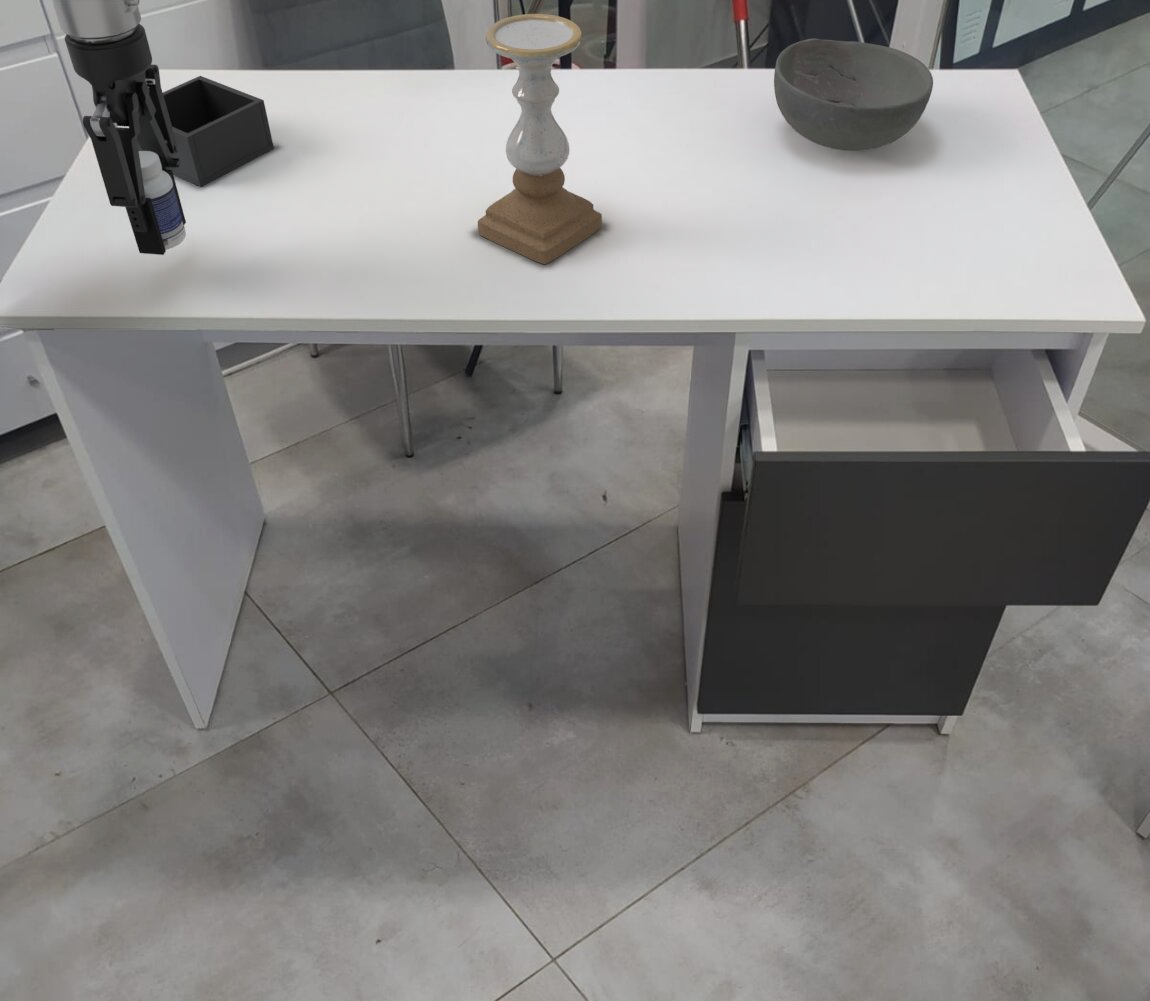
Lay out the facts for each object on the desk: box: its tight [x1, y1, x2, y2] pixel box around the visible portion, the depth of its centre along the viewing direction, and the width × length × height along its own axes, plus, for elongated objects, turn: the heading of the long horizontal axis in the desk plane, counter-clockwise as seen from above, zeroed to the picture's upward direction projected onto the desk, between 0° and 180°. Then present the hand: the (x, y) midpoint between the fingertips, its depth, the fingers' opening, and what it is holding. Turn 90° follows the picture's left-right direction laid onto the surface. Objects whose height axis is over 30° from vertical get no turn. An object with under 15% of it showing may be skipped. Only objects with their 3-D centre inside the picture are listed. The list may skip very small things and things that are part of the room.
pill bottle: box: [139, 151, 187, 251], centre depth 121 cm, size 5×5×10 cm
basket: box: [128, 75, 275, 188], centre depth 146 cm, size 13×13×7 cm
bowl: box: [773, 38, 934, 152], centre depth 147 cm, size 20×20×10 cm
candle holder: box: [477, 13, 603, 265], centre depth 126 cm, size 11×11×24 cm
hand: (163, 237), depth 125 cm, fingers closed on pill bottle, 5 cm apart
